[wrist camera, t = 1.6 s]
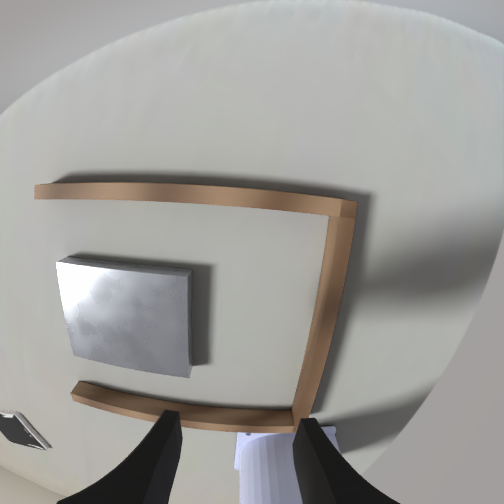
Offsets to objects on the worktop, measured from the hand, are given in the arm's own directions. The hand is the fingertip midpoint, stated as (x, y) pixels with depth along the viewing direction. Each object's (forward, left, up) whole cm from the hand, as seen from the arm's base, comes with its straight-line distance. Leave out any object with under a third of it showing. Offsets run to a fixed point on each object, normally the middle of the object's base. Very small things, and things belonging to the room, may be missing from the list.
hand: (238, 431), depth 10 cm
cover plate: (+9, 0, -10) cm, 13 cm away
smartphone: (+36, +27, -10) cm, 46 cm away
